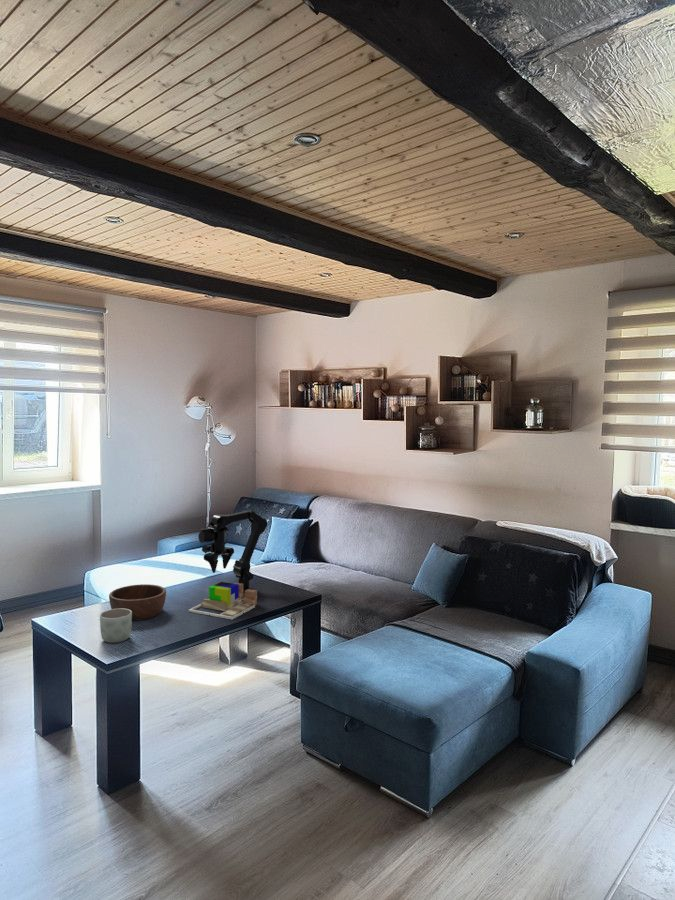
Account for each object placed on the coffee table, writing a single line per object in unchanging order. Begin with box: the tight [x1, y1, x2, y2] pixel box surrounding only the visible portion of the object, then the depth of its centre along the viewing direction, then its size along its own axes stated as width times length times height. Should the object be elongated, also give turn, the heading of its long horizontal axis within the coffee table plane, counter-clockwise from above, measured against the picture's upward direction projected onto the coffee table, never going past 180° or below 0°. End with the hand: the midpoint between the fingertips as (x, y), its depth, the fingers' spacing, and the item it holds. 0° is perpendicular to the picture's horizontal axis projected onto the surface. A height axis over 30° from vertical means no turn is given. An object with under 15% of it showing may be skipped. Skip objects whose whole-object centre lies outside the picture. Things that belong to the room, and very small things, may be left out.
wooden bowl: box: [108, 583, 167, 621], centre depth 280 cm, size 25×25×10 cm
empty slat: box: [222, 589, 258, 617], centre depth 285 cm, size 21×5×7 cm, turn 156°
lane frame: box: [188, 603, 256, 620], centre depth 287 cm, size 19×24×1 cm
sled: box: [200, 582, 245, 612], centre depth 296 cm, size 21×15×7 cm
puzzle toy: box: [208, 581, 239, 606], centre depth 291 cm, size 10×10×10 cm
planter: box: [99, 608, 133, 644], centre depth 248 cm, size 12×12×11 cm
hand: (219, 570), depth 306 cm, fingers open, 9 cm apart
